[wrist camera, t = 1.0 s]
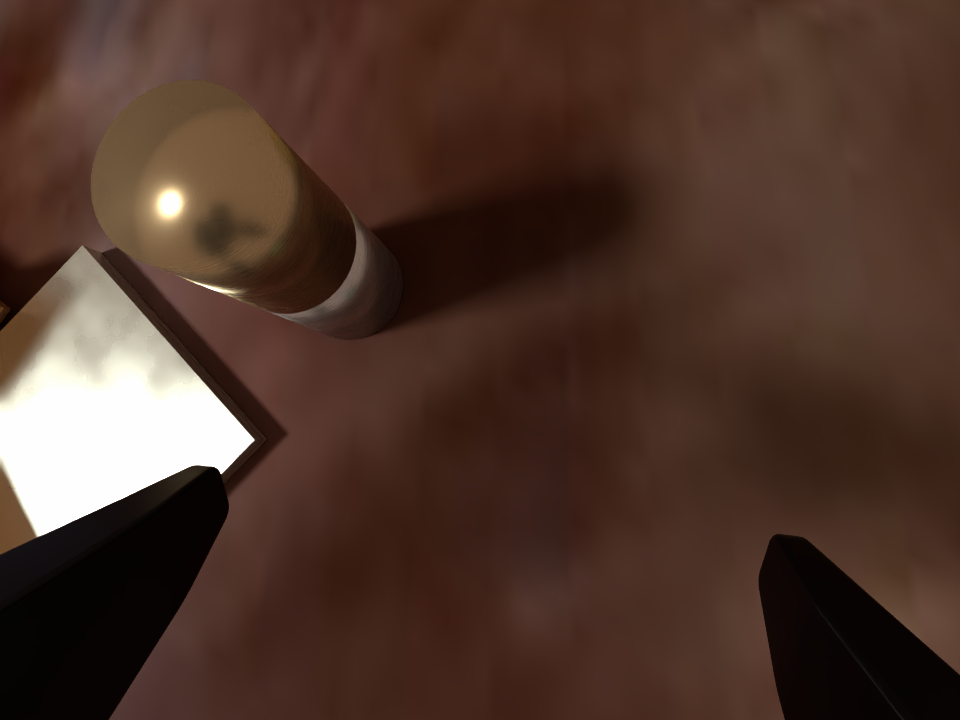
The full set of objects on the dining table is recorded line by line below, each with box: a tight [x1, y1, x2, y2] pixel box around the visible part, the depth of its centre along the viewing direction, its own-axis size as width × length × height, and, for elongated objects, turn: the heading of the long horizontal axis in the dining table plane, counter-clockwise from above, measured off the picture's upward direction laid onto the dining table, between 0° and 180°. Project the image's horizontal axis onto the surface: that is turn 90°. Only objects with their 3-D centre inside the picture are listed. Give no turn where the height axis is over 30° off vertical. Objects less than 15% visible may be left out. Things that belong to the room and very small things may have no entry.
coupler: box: [91, 80, 403, 340], centre depth 18 cm, size 4×4×11 cm
